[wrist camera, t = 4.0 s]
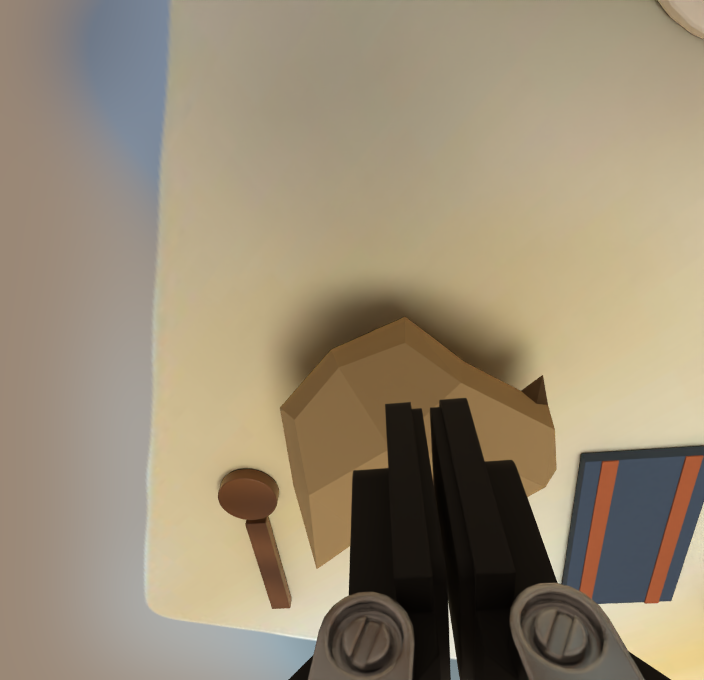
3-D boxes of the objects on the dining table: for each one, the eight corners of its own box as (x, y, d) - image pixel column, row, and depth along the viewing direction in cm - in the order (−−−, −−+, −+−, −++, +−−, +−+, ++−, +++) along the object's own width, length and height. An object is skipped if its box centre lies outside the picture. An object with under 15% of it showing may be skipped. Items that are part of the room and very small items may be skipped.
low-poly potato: (250, 402, 32) (344, 565, 32) (189, 425, 21) (331, 673, 21) (457, 279, 32) (555, 441, 32) (502, 239, 21) (653, 485, 21)
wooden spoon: (214, 470, 35) (211, 480, 34) (273, 466, 35) (270, 476, 34) (258, 600, 42) (256, 611, 42) (307, 598, 42) (305, 609, 41)
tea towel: (581, 453, 33) (585, 463, 32) (712, 445, 33) (720, 455, 32) (560, 595, 41) (563, 606, 40) (666, 591, 40) (672, 602, 39)
